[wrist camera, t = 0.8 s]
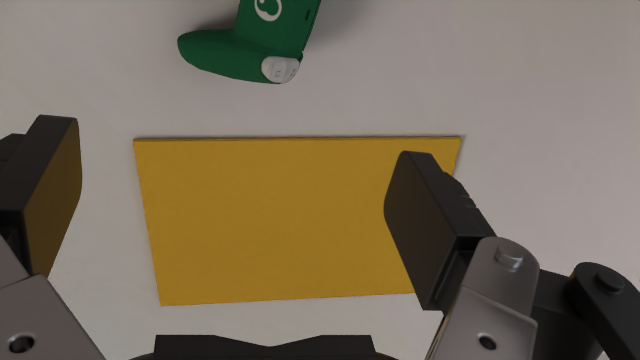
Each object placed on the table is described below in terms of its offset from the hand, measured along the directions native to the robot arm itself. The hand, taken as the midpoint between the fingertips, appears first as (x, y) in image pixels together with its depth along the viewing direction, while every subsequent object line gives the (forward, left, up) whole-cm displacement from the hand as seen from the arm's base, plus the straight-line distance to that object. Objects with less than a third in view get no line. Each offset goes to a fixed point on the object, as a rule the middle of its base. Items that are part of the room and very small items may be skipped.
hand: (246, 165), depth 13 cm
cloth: (-3, +15, -16) cm, 22 cm away
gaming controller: (0, -1, -16) cm, 16 cm away
